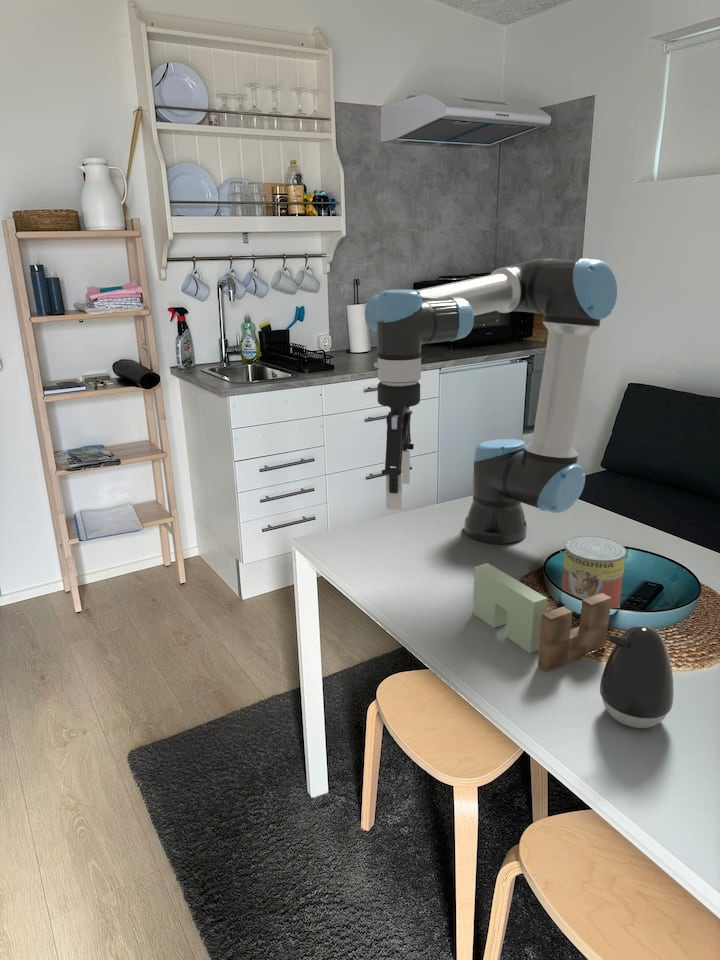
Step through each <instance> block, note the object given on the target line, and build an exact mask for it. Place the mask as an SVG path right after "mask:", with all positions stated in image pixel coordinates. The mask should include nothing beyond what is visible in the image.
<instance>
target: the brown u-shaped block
mask: <svg viewBox="0 0 720 960" xmlns="http://www.w3.org/2000/svg"><path fill="white" fill-rule="evenodd" d="M610 605H611V597H609V596H607V595H605V594H603V593H601V594H598V595H595V596H592V597H589V598H586V599H583V600H582V609H581V615H580V620H579V626H577V627H574V628H572V618H573V612H572V611H571V610H569V609H567V608H566V607H564V606H563V605H562V606H561V607H558V608H555V609H552V610H549V611H546V613H543V614H542V622H541V634H540V646H539V650H538V659H537V666H538V667H539V668H540V669H542V670H543V671H544V672H546V673H547V672H549V671H552V670H555V669H557V668H558V667H561V666H565V665H567V664H569V663H571V662H572V663H573V662H574V661H577V660H579V659H581V658H584V657H586V656H585V655H586V654H588V653H589V652H592V651H595V650H597V649H600V648H603V647H605V648H606V645H607V639H608V630H609V621H610V616H609V613H610Z"/></svg>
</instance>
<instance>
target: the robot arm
mask: <svg viewBox="0 0 720 960" xmlns="http://www.w3.org/2000/svg"><path fill="white" fill-rule="evenodd" d="M617 297H618V283H617V279H616V276H615V274H614V272H613V269H612V268H611V266H610V265H609V264H608V263H606V261H604V260H603V261H602V260H599V259H592V258H591V259H590V258H587V257H586V258H582V257H581V258H546V257H545V258H543V257H542V258H537V259H531V260H527V261H523V262H519V263H515V264H511V265H508V266H505V267H504V266H503V267H499V268H497V269H495V270H493V271H492V272H491V273H490V274H488V275H484V276H479V277H474V278H469V279H465V280H464V279H463V280H460V281H456V282H454V281H453V282H450V283H445V284H441V285H435V286H430V287H425V288H421V289H389V290H388V289H387V290H383V291H381V292H379V294H375V295H373V296H372V297H371V298H370V299H369V300H368V301H367V303H366V306H365V308H364V319H365V323H366V325H367V327H368V328H369V330H371V331H372V332H375V333H376V339H377V340H376V345H377V347H376V350H377V353H376V354H377V361H376V362H374V364H373V368H375V369H376V368H378V369H377V379H378V381H379V382H378V384H377V403H378V404H379V405H380V406H383V407H388V408H390V411H388V414H387V415H386V418H385V420H386V442H385V443H386V444H385V445H386V447H385V461H384V462H385V464H384V469H381V475H383V476H385V486H386V487H385V493H386V494H385V497H386V498H385V502H386V503H385V509H386V510H398V511H402V510H403V485H404V484H405V485H406V484H407V485H410V481H411V480H410V475H411V474H410V471H411V469H410V468H411V465H410V463H411V450H414V446H415V445H414V443H411V442H412V438H411V416H412V414H411V412H410V408H411V407H414V406H417V405H418V404H420V402H421V383H420V382H419V381H420V380H421V379H422V377H421V376H422V345H426V344H435V343H442V342H454V341H457V340H460V339H464V338H466V337H468V335H469V334H470V333H471V331H472V330H473V327H474V323H475V322H474V321H475V319H474V318H475V316H479V315H483V314H486V313H492V312H495V311H496V312H498V313H502V314H507V313H510V312H522V313H523V312H524V313H525V312H526V313H533V314H534V313H535V314H542V315H543V318H542V324H543V325H544V327H545V328H546V329H547V331H548V334H547V341H546V349H545V355H544V361H543V368H542V375H541V382H540V389H539V395H538V400H537V406H536V407H537V409H536V414H535V420H534V421H535V422H534V428H533V434H532V440H531V441H530V442H529V443H528V444H526V443H525V442H524V440H522V439H515V438H512V439H510V438H502V439H501V438H500V439H492V440H491V439H490V440H486V441H483V442H480V443H479V444H478V445H477V446H476V447H475V451H474V458H473V482H472V483H473V484H472V485H473V486H472V503H471V505H470V507H469V511H468V513H467V516H466V517H465V519H464V525H463V526H464V533H465V534H466V535H467V536H468V537H470V538H472V539H473V540H476V541H479V542H482V543H487V544H497V545H500V544H504V545H505V544H513V543H516V542H519V541H522V540H524V538H526V536H527V533H528V532H527V530H528V525H527V521H526V518H525V514H524V510H523V505H522V504H525V505H529V506H531V507H534V508H537V509H539V510H540V511H543V512H544V511H545V512H550V513H552V514H560V513H564V512H567V511H568V510H569V509H571V507H573V506H574V505H575V503H576V502H577V501H578V499H579V498H580V496H581V495H582V492H583V490H584V487H585V484H586V473H585V470H584V468H583V467H582V466H581V465H579V464H577V463H578V456H579V453H578V452H577V450H576V449H575V448H574V446H573V441H574V436H575V430H576V425H577V419H578V412H579V406H580V401H581V399H580V398H581V395H582V394H581V393H582V389H583V388H582V386H583V382H584V376H585V370H586V364H587V363H586V362H587V359H588V358H587V357H588V350H589V345H590V339H591V336H592V334H593V333H595V332H596V331H597V330H599V328H600V325H601V320H603V319H605V318H607V317H609V316H610V315H611V314H612V310H614V308H615V306H616V304H617V303H616V302H617Z"/></svg>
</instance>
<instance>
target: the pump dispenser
mask: <svg viewBox="0 0 720 960" xmlns="http://www.w3.org/2000/svg"><path fill="white" fill-rule="evenodd" d="M607 641H608V642H610V643H612V644H615V645H614V647H613V649H612V650H611V652H610V653H609V656H608V658H607V659H606V663H605V666H604V668H603V671H602V675H601V679H600V683H599V693H600V697H601V698H602V702H603V703H602V704H603V705H604V707H605V710H606V711H607V712H608V714H609V715H610V716H611V717H612V718H613V719H614V720H616V721H617V722H619V723H621V724H622V725H624V726H628V727H630V728H635V729H648V728H652V727H655V726H657V725H658V724H660V723H661V722H662V721H663V720H664V719H665V718H666V716H667V714H669V712H670V711H671V710H672V707H673V703H674V691H675V690H674V676H673V669H672V664H671V662H672V661H671V659H670V656H669V652H668V649H667V646H666V644H665V641H664V639H663V637H662V636H661V635H660V634H659V632H657V630H655V629H654V628H651V627H649V626H647V625H636V626H632V627H630V628H629V629H628V630H626V631H625V632H624V633H623V634H622V635H621V636H619V635H615V634H609V635H607Z"/></svg>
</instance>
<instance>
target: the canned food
mask: <svg viewBox="0 0 720 960" xmlns="http://www.w3.org/2000/svg"><path fill="white" fill-rule="evenodd" d="M563 556H564V559H563V567H562V568H563V569H562V578H561V579H562V580H561V588H563V589H565V590H566V591H568V592H570V593H572V594H573V595H575V596H577V597H579V598H581V599H586V598H589V597H592V596H595V595H598V594H601V593H603V594H605V595H607V596H609V597H611V605H610V608H619V609H620V608H621V605H620V601H621V594H622V586H623V579H624V573H625V571H624V570H625V562H626V556H627V549H626V548H625V547H624V546H623V544H621V543H620V542H617V541H616V540H613V539H610V538H607V537H601V536H597V535H596V536H595V535H582V536H580V535H579V536H575V537H571V538H570V539H568V540H567V541H565V543H564V555H563Z"/></svg>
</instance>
